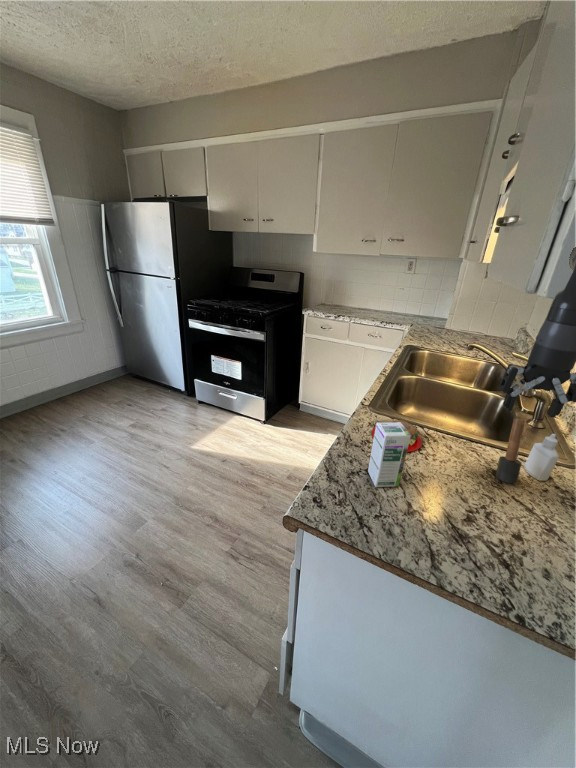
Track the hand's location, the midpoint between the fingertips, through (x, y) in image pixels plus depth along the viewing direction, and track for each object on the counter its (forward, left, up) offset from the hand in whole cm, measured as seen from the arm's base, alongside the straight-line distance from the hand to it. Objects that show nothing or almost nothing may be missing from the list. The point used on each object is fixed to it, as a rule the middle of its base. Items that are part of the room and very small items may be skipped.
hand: (528, 412), depth 70 cm
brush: (0, +2, -17) cm, 18 cm away
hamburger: (+25, -8, -18) cm, 32 cm away
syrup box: (+29, +11, -18) cm, 36 cm away
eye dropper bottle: (-8, -3, -18) cm, 20 cm away
